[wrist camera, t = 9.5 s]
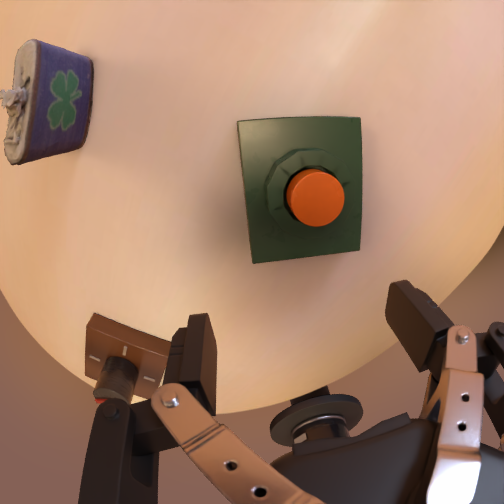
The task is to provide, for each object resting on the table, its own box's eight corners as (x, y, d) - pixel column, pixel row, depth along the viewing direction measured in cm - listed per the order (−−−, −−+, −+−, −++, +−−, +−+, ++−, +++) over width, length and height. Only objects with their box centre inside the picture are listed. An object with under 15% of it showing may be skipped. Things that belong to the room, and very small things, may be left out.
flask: (74, 59, 17) (1, 39, 7) (100, 54, 17) (31, 26, 7) (64, 151, 20) (-12, 174, 11) (89, 150, 21) (14, 172, 11)
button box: (351, 241, 26) (368, 259, 23) (250, 253, 26) (254, 274, 23) (350, 117, 21) (370, 116, 18) (236, 122, 21) (237, 120, 18)
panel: (156, 387, 34) (153, 402, 31) (90, 362, 32) (84, 376, 29) (172, 342, 30) (169, 358, 28) (94, 312, 28) (85, 326, 26)
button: (336, 217, 21) (344, 224, 20) (287, 222, 21) (292, 229, 20) (335, 167, 20) (344, 171, 18) (284, 170, 20) (289, 174, 18)
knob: (128, 355, 28) (116, 390, 23) (144, 379, 30) (136, 413, 25) (99, 357, 28) (85, 389, 23) (115, 380, 30) (105, 412, 25)
